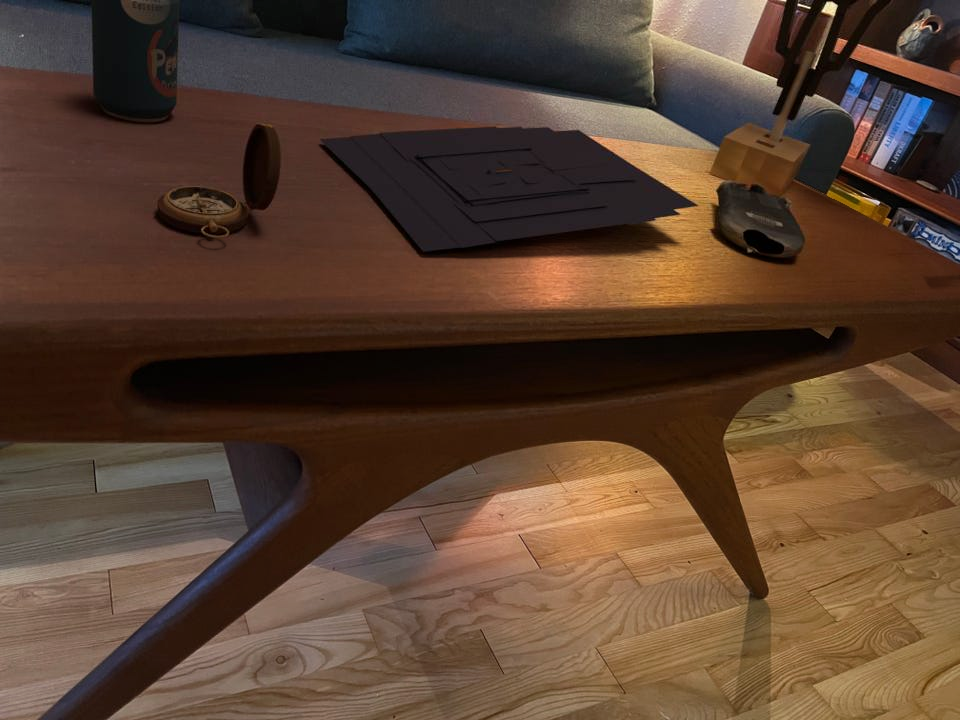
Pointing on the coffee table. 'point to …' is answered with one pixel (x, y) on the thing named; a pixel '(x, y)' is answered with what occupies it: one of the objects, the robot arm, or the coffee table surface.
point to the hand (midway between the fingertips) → (783, 116)
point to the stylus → (792, 95)
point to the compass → (219, 208)
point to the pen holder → (759, 159)
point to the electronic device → (758, 220)
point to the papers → (501, 183)
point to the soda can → (135, 57)
